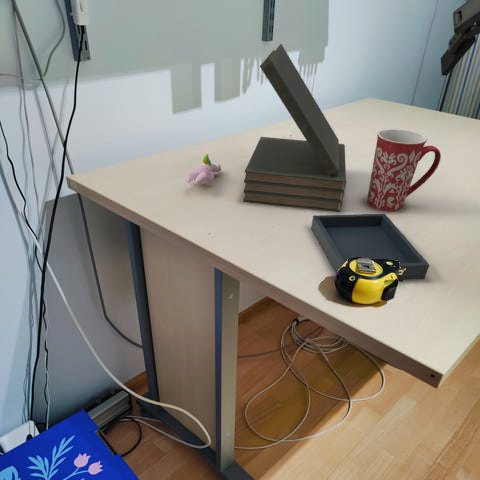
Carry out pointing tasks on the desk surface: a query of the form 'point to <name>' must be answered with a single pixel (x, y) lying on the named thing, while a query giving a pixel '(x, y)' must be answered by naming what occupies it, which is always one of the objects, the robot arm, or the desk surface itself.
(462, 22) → the robot arm
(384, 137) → the mug
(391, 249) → the tray
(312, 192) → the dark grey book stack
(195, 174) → the pink toy figure
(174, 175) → the desk surface
